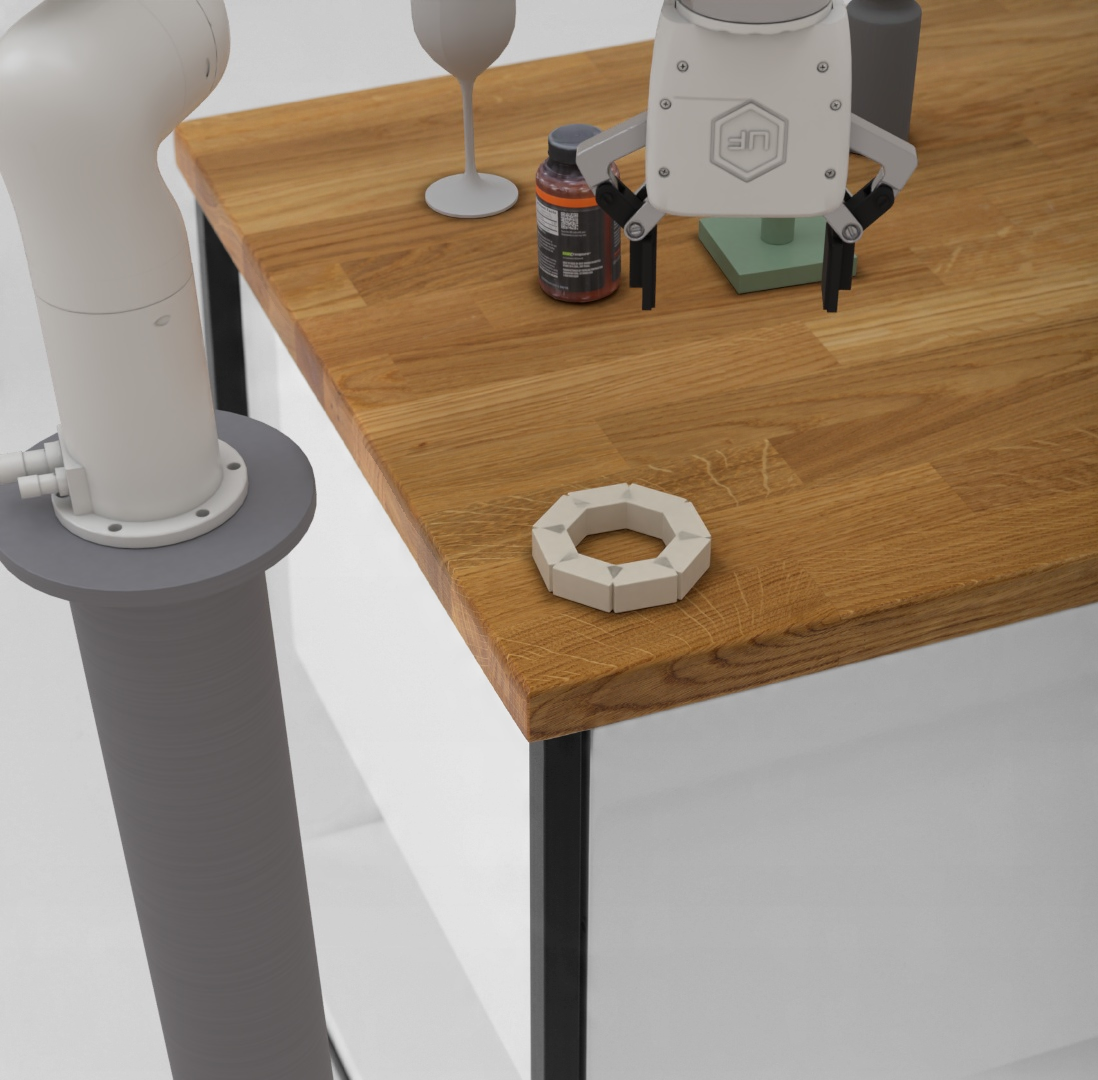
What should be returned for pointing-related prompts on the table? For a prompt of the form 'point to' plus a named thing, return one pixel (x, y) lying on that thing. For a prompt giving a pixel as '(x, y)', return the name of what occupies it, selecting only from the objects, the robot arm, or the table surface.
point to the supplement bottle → (574, 225)
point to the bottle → (884, 61)
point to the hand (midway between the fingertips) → (738, 299)
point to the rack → (766, 250)
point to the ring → (630, 580)
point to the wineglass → (466, 91)
